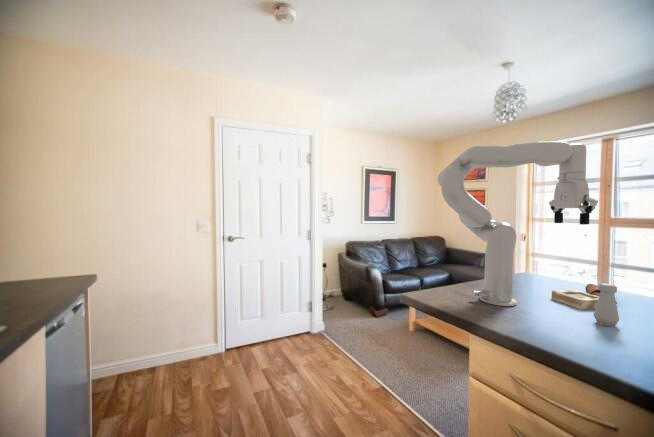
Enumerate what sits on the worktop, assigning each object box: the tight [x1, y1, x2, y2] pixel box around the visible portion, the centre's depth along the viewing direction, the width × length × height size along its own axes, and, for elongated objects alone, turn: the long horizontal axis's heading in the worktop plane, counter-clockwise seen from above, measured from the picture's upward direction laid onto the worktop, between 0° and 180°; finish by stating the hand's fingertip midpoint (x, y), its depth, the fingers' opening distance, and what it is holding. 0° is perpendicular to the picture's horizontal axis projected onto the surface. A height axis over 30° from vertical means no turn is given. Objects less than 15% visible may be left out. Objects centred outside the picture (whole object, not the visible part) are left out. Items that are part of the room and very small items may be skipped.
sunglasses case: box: [585, 283, 618, 305], centre depth 115 cm, size 18×7×7 cm
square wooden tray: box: [551, 289, 599, 310], centre depth 109 cm, size 12×12×3 cm
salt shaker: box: [593, 282, 620, 328], centre depth 89 cm, size 6×6×13 cm
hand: (570, 223), depth 105 cm, fingers open, 9 cm apart
